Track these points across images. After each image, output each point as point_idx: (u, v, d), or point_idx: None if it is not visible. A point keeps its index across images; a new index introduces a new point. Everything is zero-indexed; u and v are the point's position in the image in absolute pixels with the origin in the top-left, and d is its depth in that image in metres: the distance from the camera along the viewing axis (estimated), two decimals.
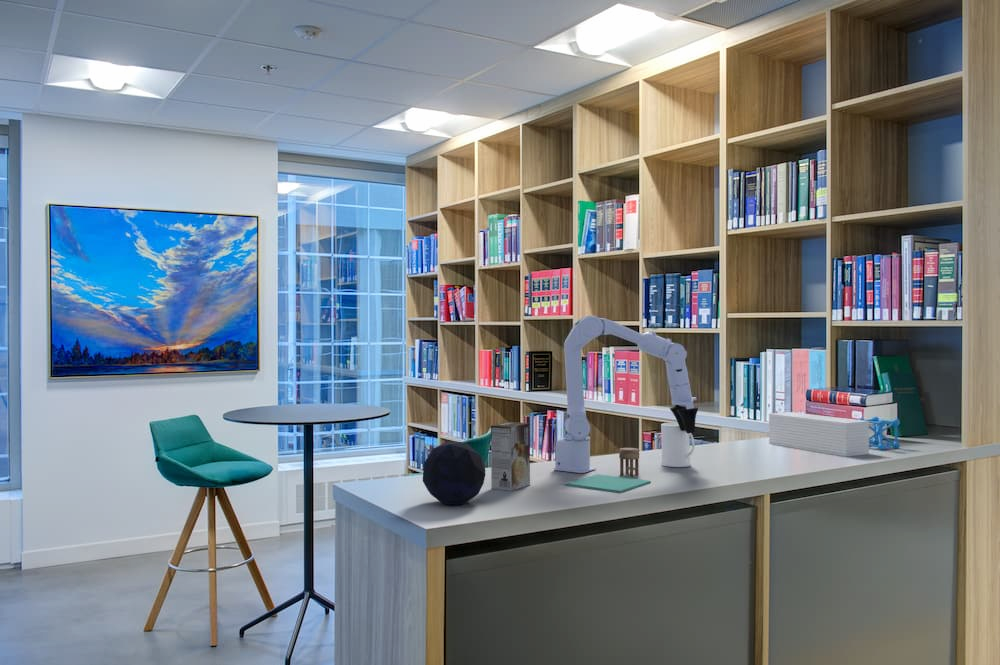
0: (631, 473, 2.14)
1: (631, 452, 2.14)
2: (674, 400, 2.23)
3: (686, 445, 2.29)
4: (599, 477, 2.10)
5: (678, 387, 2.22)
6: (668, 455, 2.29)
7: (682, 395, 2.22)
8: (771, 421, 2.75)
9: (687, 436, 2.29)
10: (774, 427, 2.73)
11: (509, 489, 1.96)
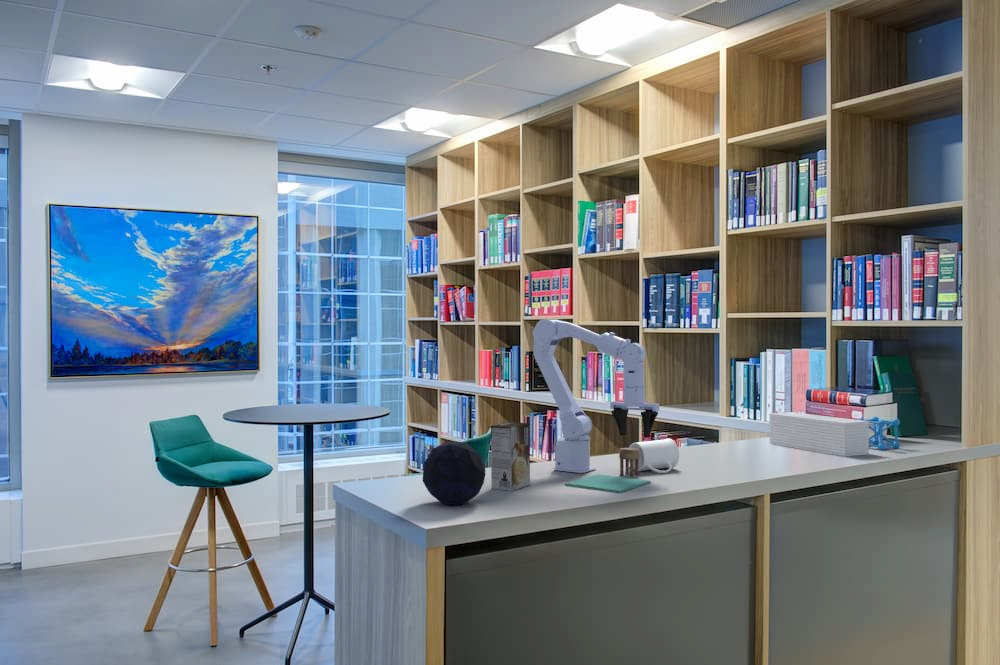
0: (631, 473, 2.14)
1: (631, 452, 2.14)
2: (633, 402, 2.14)
3: (661, 462, 2.22)
4: (599, 477, 2.10)
5: (640, 389, 2.15)
6: None
7: (642, 398, 2.15)
8: (772, 421, 2.75)
9: (654, 461, 2.20)
10: (774, 427, 2.74)
11: (509, 489, 1.96)
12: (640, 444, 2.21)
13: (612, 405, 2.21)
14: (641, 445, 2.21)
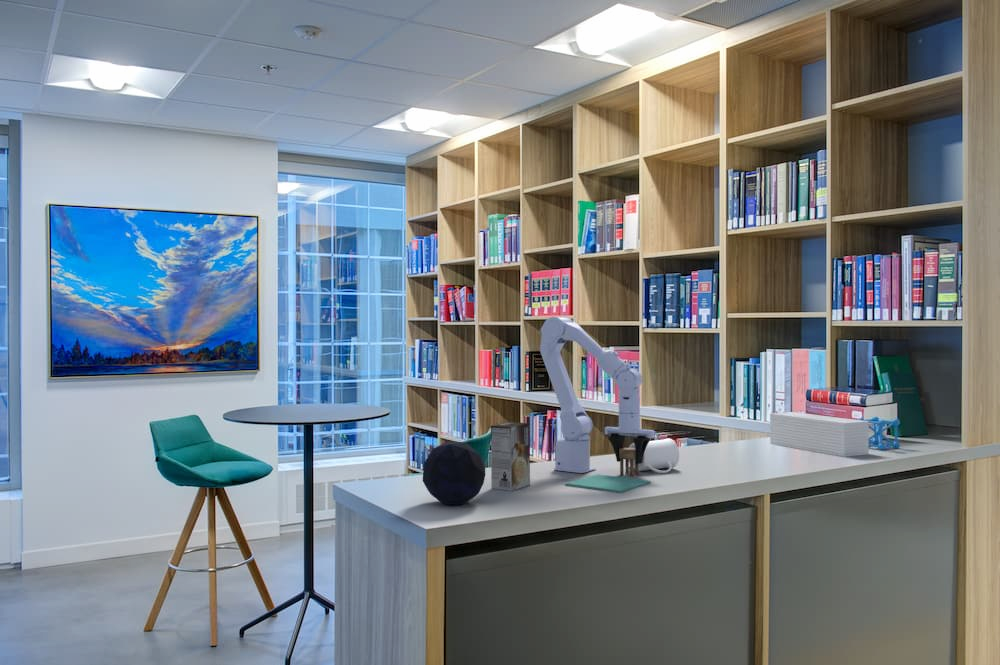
0: (631, 473, 2.14)
1: (631, 452, 2.14)
2: (628, 428, 2.14)
3: (661, 462, 2.22)
4: (599, 477, 2.10)
5: (635, 415, 2.14)
6: None
7: (637, 424, 2.15)
8: (772, 421, 2.75)
9: (654, 461, 2.20)
10: (775, 427, 2.74)
11: (509, 489, 1.96)
12: None
13: (606, 430, 2.20)
14: None
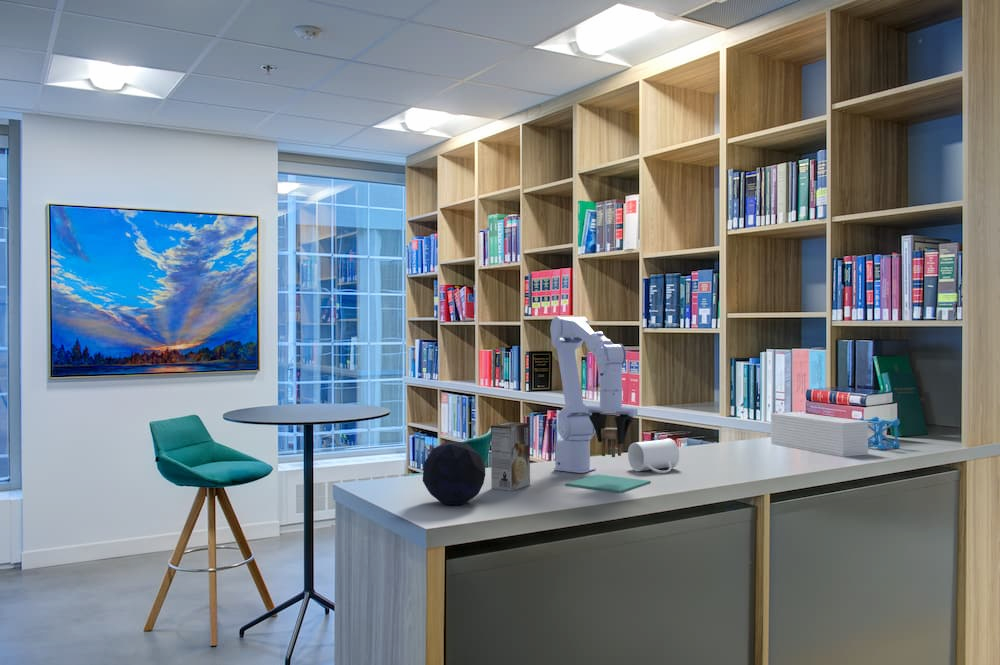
0: (613, 454, 2.03)
1: (613, 431, 2.03)
2: (610, 406, 2.03)
3: (661, 462, 2.22)
4: (599, 477, 2.10)
5: (617, 392, 2.03)
6: None
7: (619, 402, 2.03)
8: (773, 421, 2.75)
9: (654, 461, 2.20)
10: (776, 427, 2.74)
11: (509, 489, 1.96)
12: (640, 444, 2.21)
13: (587, 409, 2.09)
14: (641, 445, 2.21)
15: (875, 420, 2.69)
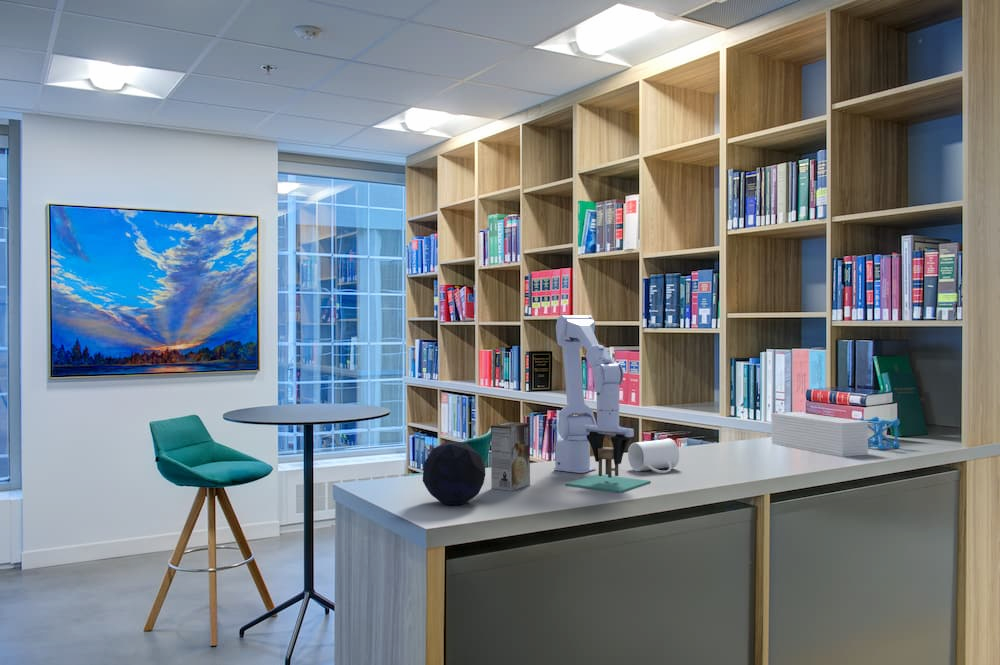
0: (609, 474, 2.01)
1: (609, 452, 2.01)
2: (606, 426, 2.01)
3: (661, 462, 2.22)
4: (599, 477, 2.10)
5: (614, 412, 2.01)
6: None
7: (616, 422, 2.02)
8: (774, 421, 2.75)
9: (654, 461, 2.20)
10: (776, 427, 2.74)
11: (509, 489, 1.96)
12: (640, 444, 2.21)
13: (585, 428, 2.08)
14: (641, 445, 2.21)
15: (875, 420, 2.69)
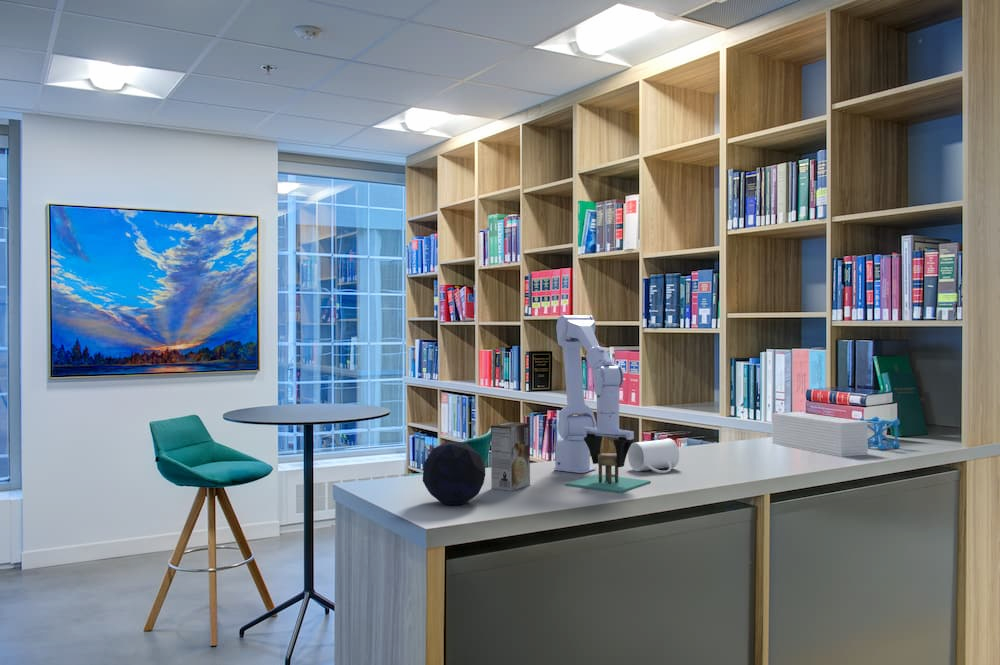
0: (609, 480, 2.01)
1: (609, 458, 2.01)
2: (606, 429, 2.01)
3: (661, 462, 2.22)
4: None
5: (614, 415, 2.01)
6: None
7: (616, 424, 2.02)
8: (774, 421, 2.76)
9: (654, 461, 2.20)
10: (777, 427, 2.74)
11: (509, 489, 1.96)
12: (640, 444, 2.21)
13: (585, 431, 2.08)
14: (641, 445, 2.21)
15: (875, 420, 2.69)
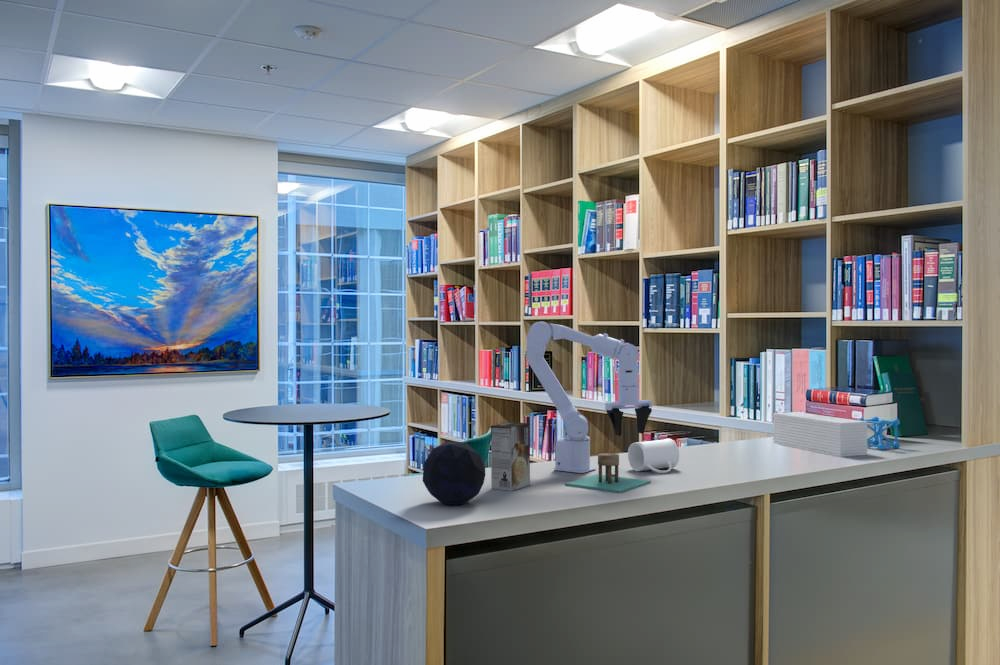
0: (609, 480, 2.01)
1: (609, 458, 2.01)
2: (637, 400, 2.21)
3: (661, 462, 2.22)
4: None
5: None
6: None
7: None
8: (775, 421, 2.76)
9: (654, 461, 2.20)
10: (778, 427, 2.75)
11: (509, 489, 1.96)
12: (640, 444, 2.21)
13: (611, 406, 2.19)
14: (641, 445, 2.21)
15: (875, 420, 2.69)
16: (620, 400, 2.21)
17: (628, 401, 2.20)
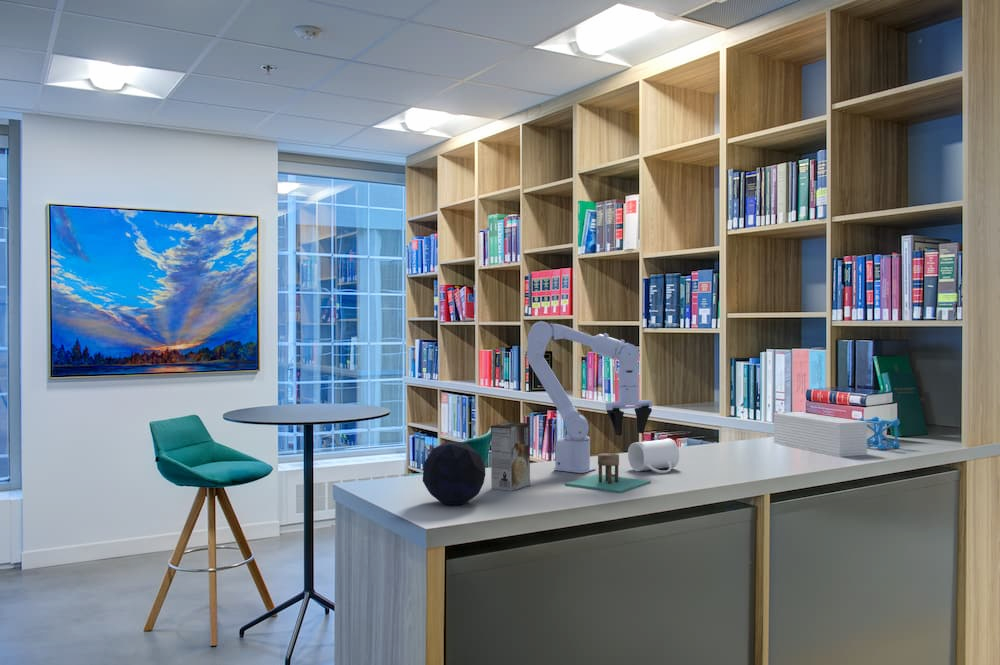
0: (609, 480, 2.01)
1: (609, 458, 2.01)
2: (638, 400, 2.21)
3: (661, 462, 2.22)
4: None
5: None
6: None
7: None
8: (776, 420, 2.76)
9: (654, 461, 2.20)
10: (778, 426, 2.75)
11: (509, 489, 1.96)
12: (640, 444, 2.21)
13: (611, 406, 2.19)
14: (641, 445, 2.21)
15: (875, 420, 2.69)
16: (620, 400, 2.21)
17: (628, 401, 2.20)
